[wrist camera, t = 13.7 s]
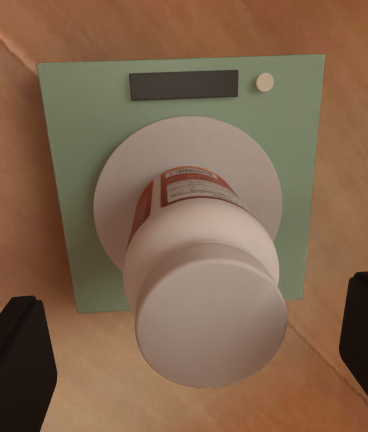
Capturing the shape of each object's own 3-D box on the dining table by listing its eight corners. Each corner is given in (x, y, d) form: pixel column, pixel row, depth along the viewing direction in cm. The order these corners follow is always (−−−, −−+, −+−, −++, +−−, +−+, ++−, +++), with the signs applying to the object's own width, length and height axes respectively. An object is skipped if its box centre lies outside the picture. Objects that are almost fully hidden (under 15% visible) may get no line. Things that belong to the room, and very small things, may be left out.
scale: (84, 295, 26) (74, 321, 23) (49, 67, 20) (30, 61, 17) (290, 282, 26) (307, 306, 23) (308, 58, 21) (332, 51, 18)
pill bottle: (176, 276, 22) (188, 437, 11) (115, 204, 20) (62, 318, 10) (256, 222, 21) (348, 343, 11) (199, 141, 19) (242, 192, 9)
